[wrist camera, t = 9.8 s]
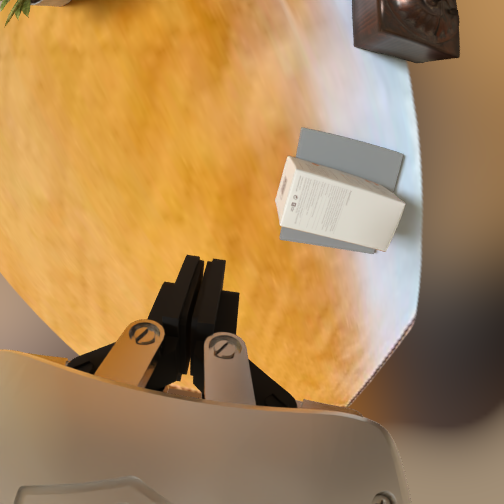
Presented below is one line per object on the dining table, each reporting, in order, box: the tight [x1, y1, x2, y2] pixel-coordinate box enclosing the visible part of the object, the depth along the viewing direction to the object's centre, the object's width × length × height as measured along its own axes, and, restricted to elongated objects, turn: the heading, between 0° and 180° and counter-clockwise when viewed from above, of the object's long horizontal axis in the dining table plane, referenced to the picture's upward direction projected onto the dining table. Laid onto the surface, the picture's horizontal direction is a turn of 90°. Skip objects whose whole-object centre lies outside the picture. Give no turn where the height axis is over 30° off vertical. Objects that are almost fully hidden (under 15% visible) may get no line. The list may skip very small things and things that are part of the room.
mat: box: [280, 127, 403, 254], centre depth 37 cm, size 15×14×1 cm
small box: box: [275, 156, 406, 252], centre depth 33 cm, size 8×6×13 cm
